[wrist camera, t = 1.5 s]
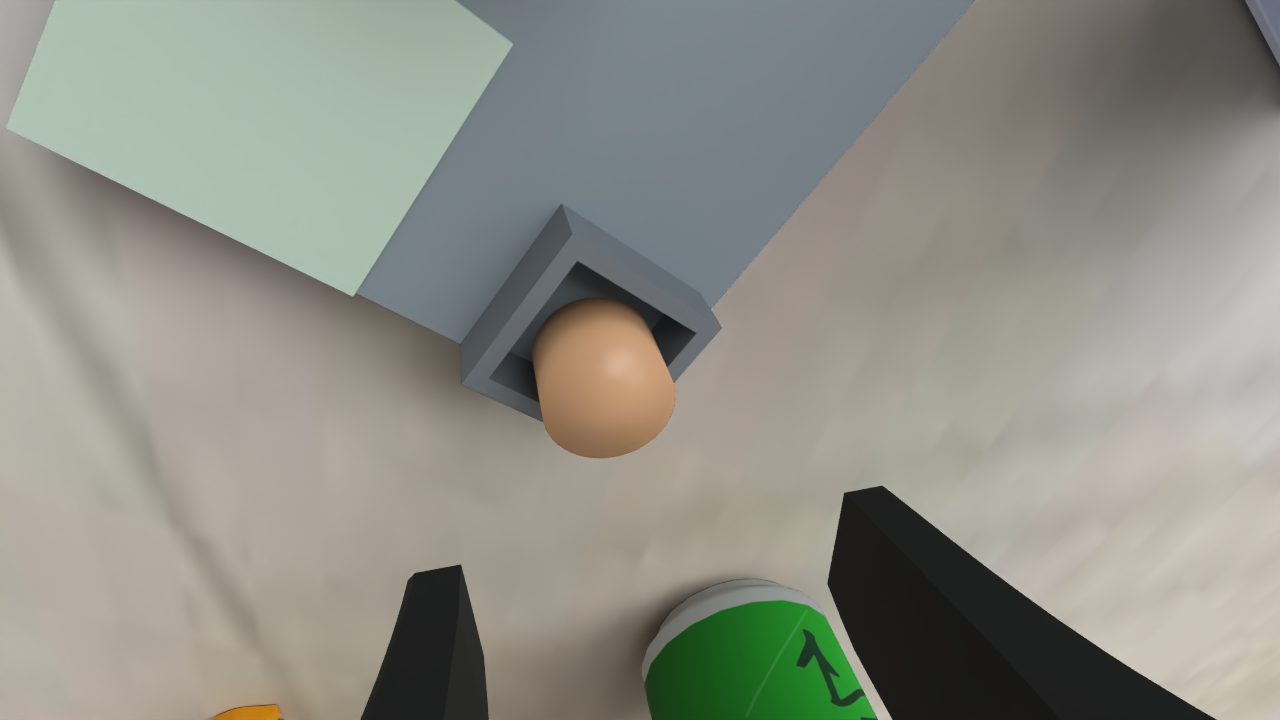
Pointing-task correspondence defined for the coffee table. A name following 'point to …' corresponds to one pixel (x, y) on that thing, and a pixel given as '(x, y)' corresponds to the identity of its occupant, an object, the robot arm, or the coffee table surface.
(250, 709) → the toy figure
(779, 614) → the soda can
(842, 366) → the coffee table surface
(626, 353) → the plunger
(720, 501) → the coffee table surface
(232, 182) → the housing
